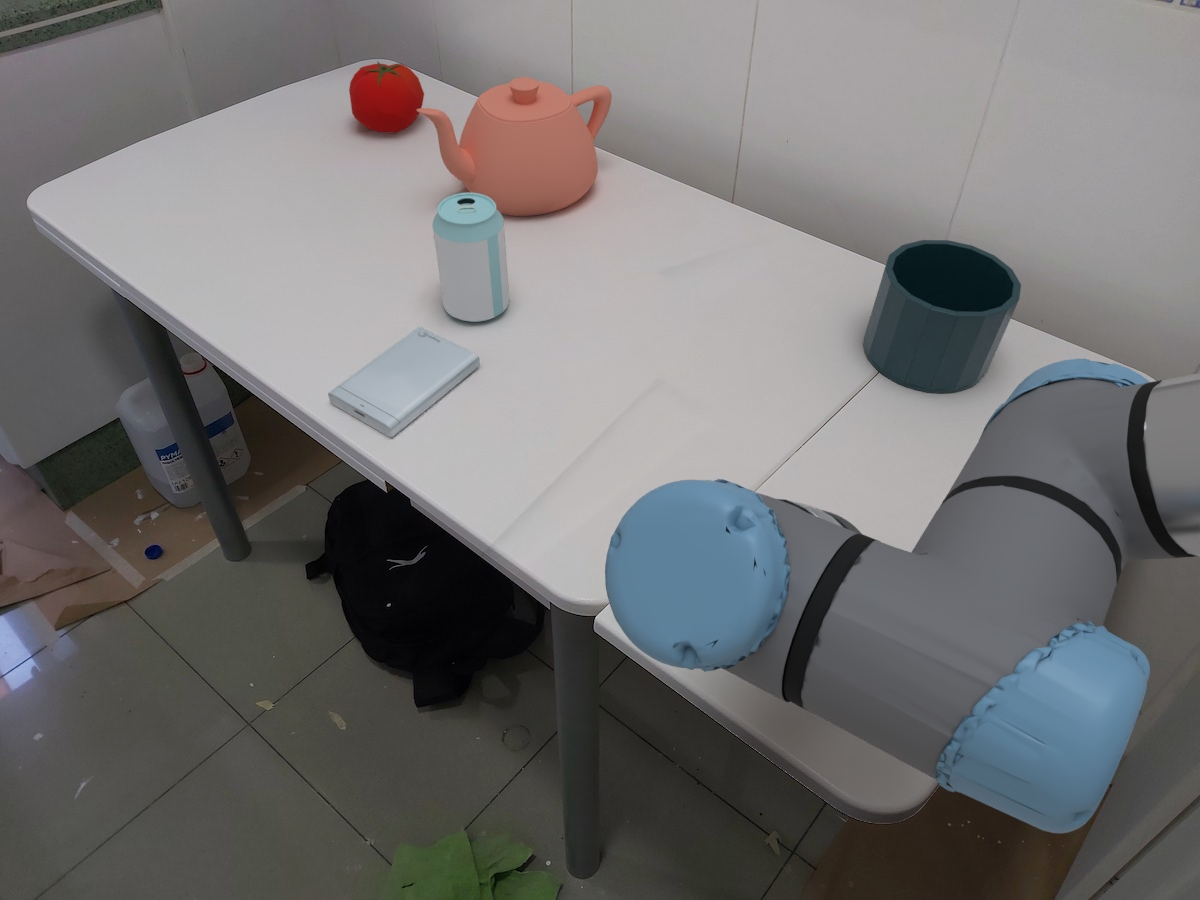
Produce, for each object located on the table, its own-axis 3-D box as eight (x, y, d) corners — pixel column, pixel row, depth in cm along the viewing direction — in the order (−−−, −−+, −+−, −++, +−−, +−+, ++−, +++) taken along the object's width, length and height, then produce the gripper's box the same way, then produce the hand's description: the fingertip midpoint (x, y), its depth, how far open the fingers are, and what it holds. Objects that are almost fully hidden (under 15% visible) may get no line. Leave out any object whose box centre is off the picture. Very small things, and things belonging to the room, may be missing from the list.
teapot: (456, 246, 103) (443, 137, 93) (405, 180, 113) (389, 76, 103) (640, 195, 111) (646, 90, 102) (577, 138, 121) (578, 38, 112)
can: (430, 306, 95) (415, 206, 86) (480, 278, 98) (470, 180, 90) (473, 335, 91) (462, 235, 83) (523, 306, 95) (517, 207, 86)
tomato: (340, 128, 122) (328, 67, 116) (397, 103, 128) (388, 44, 122) (385, 150, 118) (374, 88, 112) (441, 123, 124) (434, 63, 118)
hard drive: (418, 324, 90) (326, 390, 83) (479, 355, 87) (389, 426, 80) (420, 337, 91) (330, 403, 84) (480, 368, 88) (392, 439, 81)
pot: (1008, 353, 91) (1043, 276, 84) (948, 411, 85) (980, 334, 78) (903, 301, 97) (928, 225, 90) (839, 352, 91) (861, 274, 84)
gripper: (635, 540, 52) (763, 552, 72) (897, 741, 43) (958, 691, 64) (703, 431, 51) (814, 475, 71) (985, 617, 42) (1019, 606, 62)
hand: (882, 577), depth 67 cm, fingers open, 4 cm apart
